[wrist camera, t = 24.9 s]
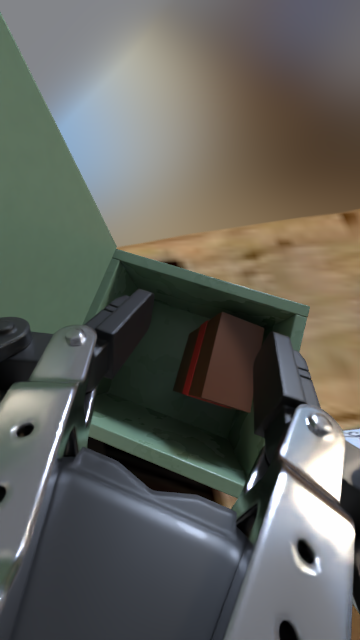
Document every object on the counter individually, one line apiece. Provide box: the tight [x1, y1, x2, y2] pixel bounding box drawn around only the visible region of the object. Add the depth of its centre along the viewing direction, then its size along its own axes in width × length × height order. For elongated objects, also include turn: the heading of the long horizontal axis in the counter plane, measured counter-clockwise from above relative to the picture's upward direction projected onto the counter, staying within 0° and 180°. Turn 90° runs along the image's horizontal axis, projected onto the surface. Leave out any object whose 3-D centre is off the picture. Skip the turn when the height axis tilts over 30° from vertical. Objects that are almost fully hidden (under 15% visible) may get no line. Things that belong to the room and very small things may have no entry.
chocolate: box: [173, 312, 264, 413], centre depth 18 cm, size 4×6×8 cm, turn 162°
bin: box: [82, 249, 310, 498], centre depth 19 cm, size 15×13×10 cm
